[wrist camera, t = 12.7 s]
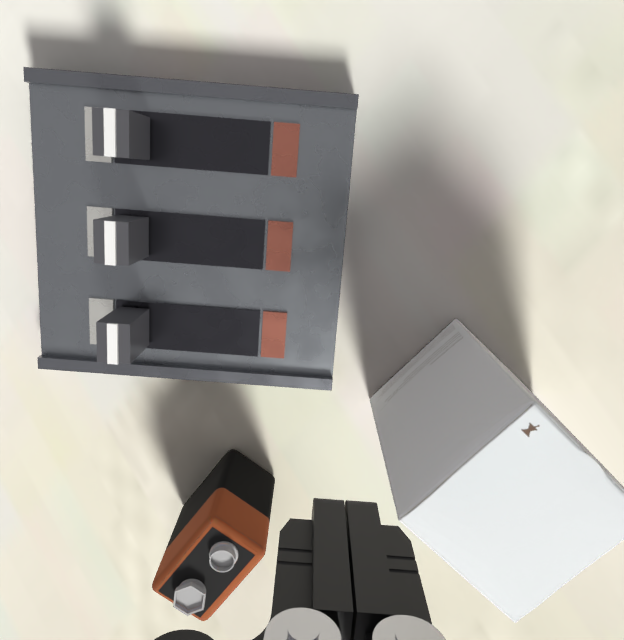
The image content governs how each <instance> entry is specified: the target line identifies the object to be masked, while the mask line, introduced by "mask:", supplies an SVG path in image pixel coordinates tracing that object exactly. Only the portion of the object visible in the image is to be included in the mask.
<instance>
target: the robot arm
mask: <svg viewBox="0 0 624 640" xmlns="http://www.w3.org/2000/svg"><path fill="white" fill-rule="evenodd" d="M155 640H213V639H212V638H211V637H209V636H208V635H206V634H204V633H202V632H199V631H195V630H177V631H172V632H169V633H166V634H164V635H161V636H160V637H158V638H156V639H155ZM253 640H446V639H445V638H444V636H443V635H442V633H441V632H440V631H439V630H438V629H437V628H435V627H434V626H433V625H432V622H431V618H430V614H429V610H428V606H427V603H426V599H425V595H424V591H423V587H422V583H421V579H420V575H419V574H418V567H417V564H416V561H415V556H414V552H413V548H412V544H411V541H410V540H409V538H408V537H407V536H406V535H405V534H404V532H403V531H402V530H401V529H400V528H399V527H398V526H388V525H381V523H380V517H379V512H378V507H377V503H374V502H361V501H347V500H346V502H345V505H344V500H332V499H318V498H314V500H313V509H312V520H304V519H291V518H290V520H289V521H288V522H287V523H286V525H285V526H284V527H283V528H282V530H281V531H280V537H279V546H278V556H277V566H276V575H275V585H274V594H273V604H272V614H271V618H270V621H269V623H268V625H267V627H266V628H265V629H264V631H263V632H262V633H261V634H260V635H258V636H257V637H256V638H254V639H253Z"/></svg>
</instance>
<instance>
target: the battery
mask: <svg viewBox="0 0 624 640" xmlns="http://www.w3.org/2000/svg"><path fill="white" fill-rule="evenodd" d="M274 483H275V478H274V477H273V476H272V475H271V474H270V473H268V472H267V471H265V470H264V469H262V468H261V467H259V466H258V465H257V464H255V463H254V462H252V461H251V460H249V459H248V458H247V457H245V456H244V455H242V454H241V453H239V452H238V451H236V450H234V449H232V450H230V451H228V452H227V454H226V455H225V456H224V457H223V458H222V459H221V461H220V462H219V463H218V464H217V466H216V467H215V468H214V469H213V470H212V472H211V473H210V474H209V475H208V477H207V478H206V479H205V480H204V481H203V483H202V484H201V485H200V486H199V487H198V489H197V490H196V491H195V492H194V494H193V495H192V496H191V497H190V498H189V500H188V501H187V502H186V503H185V505H184V506H183V508H182V510H181V513H180V515H179V518H178V520H177V523H176V525H175V528H174V530H173V533H172V535H171V538H170V541H169V543H168V546H167V548H166V551H165V553H164V556H163V558H162V561H161V563H160V566H159V568H158V571H157V573H156V576H155V578H154V581H153V584H152V588H153V590H154V591H155V592H157V593H158V594H160V595H161V596H163V597H164V598H166V599H168V600H169V601H171V602H172V603H173V607H174V608H176V609H178V610H179V611H181V612H182V613H184V614H185V615H187V616H188V615H190V614H191V615H193V616H194V617H196V618H198V619H199V620H201V621H205V620H207V619H208V618H209V617H210V616H211V615H212V614H213V613H214V612H215V611H216V610H217V609H218V608H219V606H220V605H221V604H222V603H223V602H224V601H225V600H226V599H227V597H228V596H229V595H230V594H231V593H232V592H233V591H234V589H235V588H236V587H237V586H238V585H239V584H240V583H241V582H242V580H243V579H244V578H245V577H246V576H247V575H248V574H249V573H250V571H251V570H252V569H253V568H254V567H255V566H256V565H257V564H258V562H259V561H260V560H261V559H262V558H263V556H264V555H265V551H266V544H267V536H268V529H269V521H270V514H271V506H272V499H273V491H274Z"/></svg>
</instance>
